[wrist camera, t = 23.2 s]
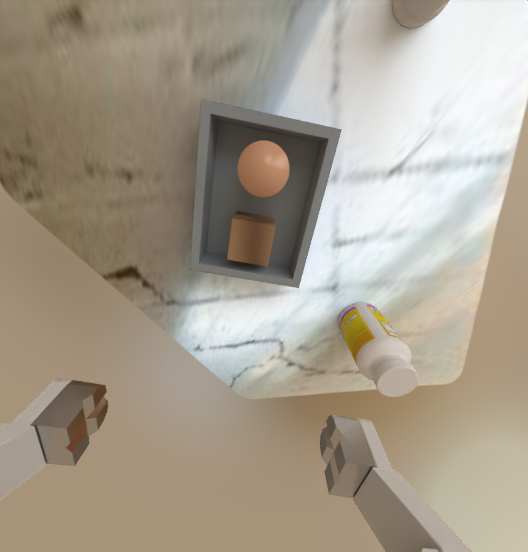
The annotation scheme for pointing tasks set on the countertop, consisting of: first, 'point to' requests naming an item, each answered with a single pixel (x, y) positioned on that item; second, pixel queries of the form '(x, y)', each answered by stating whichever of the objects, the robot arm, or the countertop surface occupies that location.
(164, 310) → the countertop surface
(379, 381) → the supplement bottle
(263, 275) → the tote
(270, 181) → the cylinder
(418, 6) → the bottle
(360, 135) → the countertop surface
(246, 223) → the cube
